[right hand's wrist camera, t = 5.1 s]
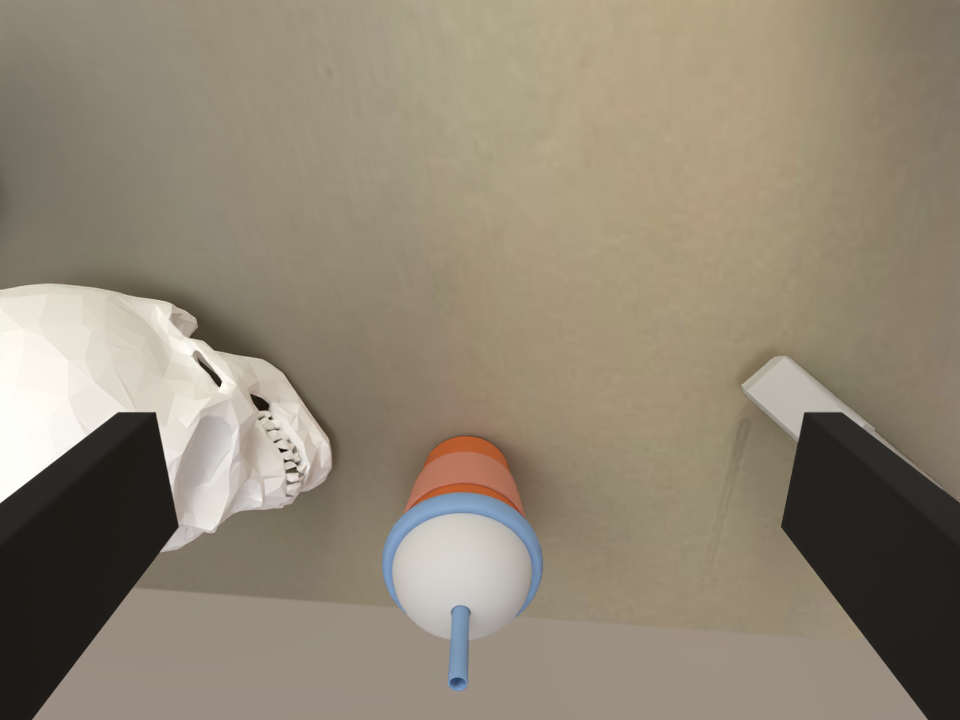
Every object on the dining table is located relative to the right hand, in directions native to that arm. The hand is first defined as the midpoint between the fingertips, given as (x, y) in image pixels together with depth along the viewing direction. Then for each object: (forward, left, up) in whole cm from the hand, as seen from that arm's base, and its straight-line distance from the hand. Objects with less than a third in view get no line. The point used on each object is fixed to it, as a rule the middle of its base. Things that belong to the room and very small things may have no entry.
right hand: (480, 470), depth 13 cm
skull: (-10, -20, -28) cm, 35 cm away
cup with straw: (+9, -14, -28) cm, 32 cm away
